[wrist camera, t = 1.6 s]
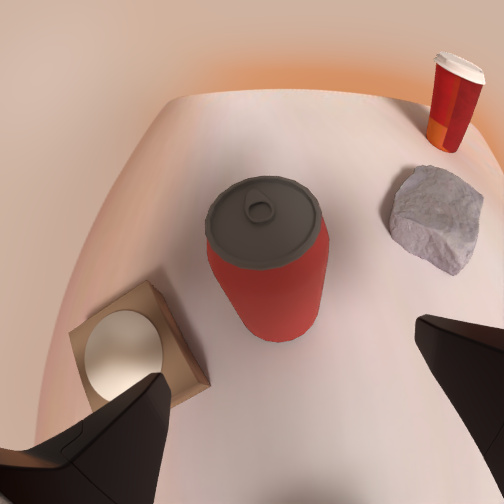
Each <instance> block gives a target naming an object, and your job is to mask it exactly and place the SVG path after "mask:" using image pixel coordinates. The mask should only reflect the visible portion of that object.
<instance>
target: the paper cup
mask: <svg viewBox="0 0 504 504" xmlns="http://www.w3.org/2000/svg"><path fill="white" fill-rule="evenodd" d="M434 61H435V62H436V72H435V81H434V89H433V96H432V104H431V109H430V115H429V121H428V127H427V133H426V136H427V139H428V140H429V142H430V143H431V144H432V145H434V146H435V147H436V148H438V149H440V150H442V151H445V152H448V153H454V152H456V151H457V149H458V147H459V145H460V143H461V141H462V139H463V137H464V134H465V132H466V130H467V127H468V125H469V123H470V120H471V117H472V115H473V112H474V109H475V106H476V104H477V101H478V98H479V95H480V92H481V89H482V86H483V84H485V83H486V82H485V79H484V73H483V71H482V70H481V69H480V68H479V67H477V66H476V65H474V64H473V63H471V62H469V61H467V60H465V59H463V58H460V57H459V56H456V55H453V54H450V53H446V52H440V53H439V54H437V57H436V58H434Z"/></svg>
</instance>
